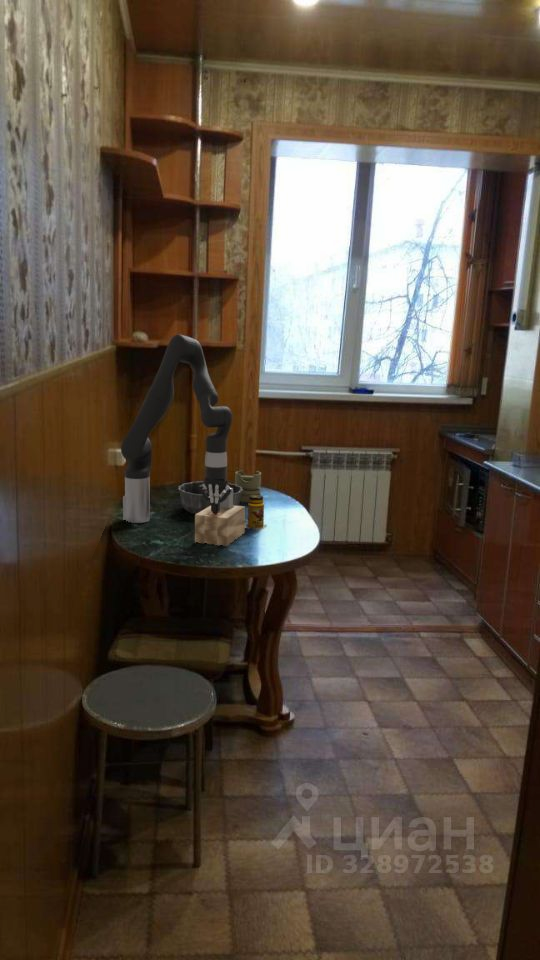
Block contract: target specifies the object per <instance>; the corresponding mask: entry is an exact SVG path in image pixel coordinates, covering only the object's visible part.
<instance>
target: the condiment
mask: <svg viewBox="0 0 540 960" xmlns="http://www.w3.org/2000/svg"><path fill="white" fill-rule="evenodd" d="M249 498H250V500H249V502H247V503H248V504H247V505H248V506H247V521H245V529H250V528H253V529H252V530H262V529H264V528H265V527H266V526H267V524H264V523H265V521H264V519H265V503H264V496H263V495H251V496H250V497H249ZM246 526H247V527H246ZM248 527H249V528H248Z"/></svg>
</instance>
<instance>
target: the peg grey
mask: <svg viewBox="0 0 540 960" xmlns="http://www.w3.org/2000/svg"><path fill="white" fill-rule="evenodd" d="M225 493H226V492H225V490H224V491H223V492H222V495H221V498H222V496H223V495H224V494H225ZM231 508H233V491H232V493H231V494H230V495H229V496H228V497H227V499H226V500H225V501H223V502H220V509H229V510H230V509H231Z"/></svg>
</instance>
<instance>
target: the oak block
mask: <svg viewBox="0 0 540 960" xmlns="http://www.w3.org/2000/svg"><path fill="white" fill-rule="evenodd" d="M209 513H211V506H209V507H208V508H206V509H204V510H202V511H201V512H199V513H197V514H195V515H194V543H196V542H198V544H204V543H207V544H206V545H212V544H214V546H220V545H223V546H222V547H228V546H229V545H231V544H232V543H233V542H235V541H236V540H237V539H239V538H240V537H241V536H243V535H244V534H245V533H246V530H245V529H246V528H245V523H246V506H243V505H239V506H235V505H233V508H231V509H230V510H229V509H220V511H219V513H223V514H222V515H220V516H214V515H208V514H209ZM242 534H243V535H242ZM238 537H239V538H238ZM235 539H236V540H235ZM234 540H235V541H234ZM230 543H231V544H230Z"/></svg>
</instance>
